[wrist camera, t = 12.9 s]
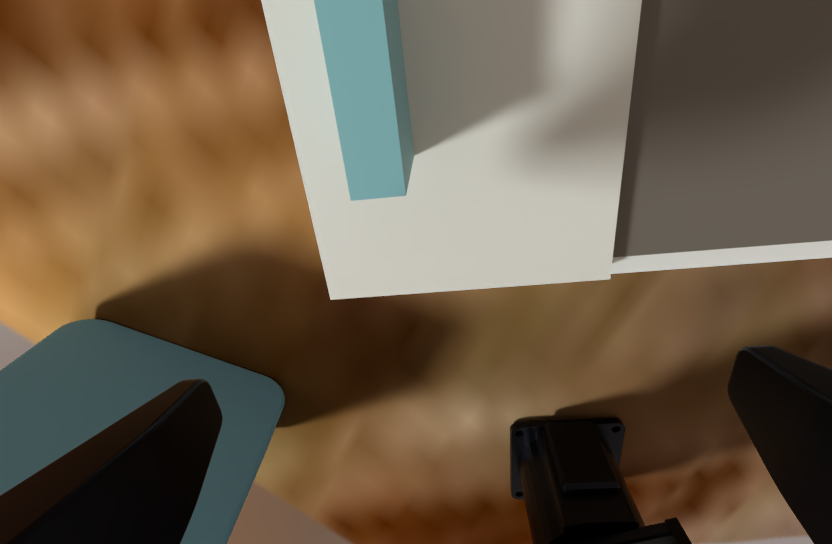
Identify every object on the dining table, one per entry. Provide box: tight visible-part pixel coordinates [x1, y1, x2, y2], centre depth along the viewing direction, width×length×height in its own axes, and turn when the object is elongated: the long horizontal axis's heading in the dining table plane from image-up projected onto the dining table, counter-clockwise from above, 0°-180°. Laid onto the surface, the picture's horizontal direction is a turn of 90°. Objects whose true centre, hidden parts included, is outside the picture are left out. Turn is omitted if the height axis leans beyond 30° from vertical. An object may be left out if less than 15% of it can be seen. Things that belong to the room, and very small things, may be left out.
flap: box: [261, 0, 642, 300], centre depth 10 cm, size 14×10×4 cm, turn 6°
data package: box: [0, 319, 285, 544], centre depth 19 cm, size 12×4×12 cm, turn 66°
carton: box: [611, 0, 832, 274], centre depth 13 cm, size 15×20×5 cm
